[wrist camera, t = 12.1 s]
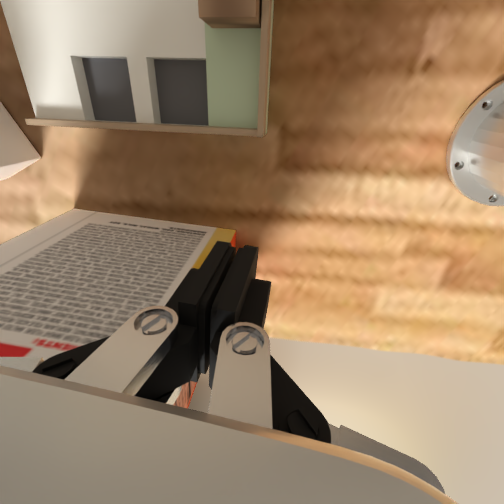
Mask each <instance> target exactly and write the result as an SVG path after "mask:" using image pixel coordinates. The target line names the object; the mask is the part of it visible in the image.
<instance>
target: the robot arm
mask: <svg viewBox="0 0 504 504" xmlns="http://www.w3.org/2000/svg"><path fill="white" fill-rule="evenodd" d="M483 103H485V105H484V107H482V105H483ZM456 163H457V165H456V166H455V164H456ZM446 164H447V171H448V174H449V178H450V180H451V182H452V183H453V185H454V186H455V188H456V189H457V190H458V191H459V192H460V193H462V194H463V195H464V196H466V197H468V198H469V199H471V200H473V201H476V202H478V203H480V204H484V205H489V206H504V80H502V81H501V82H499V83H497V84H495V85H494V86H492V87H491V88H490V89H488V90H487V91H486V92H485V93H483V94H482V95H481V96H480V97H479V98H478V99H477V100H476V101H475V102H474V103H473V104H472V105H471V106H470V107H469V108H468V109H467V110H466V112H465V113H464V114H463V116H462V117H461V118H460V120H459V121H458V123H457V125H456V127H455V129H454V131H453V133H452V135H451V138H450V141H449V144H448V148H447V155H446ZM257 259H258V247H254V246H248V245H245V246H244V248H239V249H238V251H237V253H236V247H232V245H231V243H229V242H223V241H217V242H216V243H215V245H214V247H213V248H212V250H211V251H210V253H209V254H208V256H207V257H206V259H205V260H204V262H203V264H202V265H201V267H200V268H199V269H196V268H191V269H190V270H189V272H188V273H187V275H186V276H185V278H184V279H183V280H182V282H181V283H180V285H179V286H178V288H177V289H176V290H175V292H174V293H173V295H172V296H171V298H170V299H169V301H168V302H167V303H166V305H165V306H150V307H146V308H144V309H141V310H139V311H138V312H136V313H135V314H134V315H133V316H132V317H131V318H129V319H128V320H127V321H126V322H125V323H124V324H123V325H122V326H121V327H120V328H119V329H118V330H117V331H116V332H114V333H113V334H112V335H111V336H108V337H105V338H103V339H100V340H97V341H94V342H91V343H88V344H85V345H82V346H80V347H77V348H74V349H71V350H68V351H65V352H62V353H60V354H57V355H55V356H52V357H50V358H48V359H47V360H45V361H44V360H43V357H0V504H458V503H457V502H455V501H454V500H453V499H451V498H450V497H448V496H447V495H445V492H444V489H443V487H442V485H441V484H440V482H439V480H438V479H437V477H436V476H435V475H434V474H433V473H432V472H431V471H430V470H429V469H428V468H427V467H426V466H425V465H424V464H422V463H420V462H419V461H417V460H416V459H414V458H411V457H409V456H407V455H405V454H403V453H401V452H399V451H397V450H394V449H392V448H390V447H388V446H386V445H383V444H381V443H379V442H377V441H375V440H373V439H370V438H368V437H366V436H364V435H362V434H359V433H358V432H355V431H353V430H351V429H349V428H347V427H345V426H342V425H341V426H340V428H337V427H335V426H333V425H330V424H329V423H328V422H327V420H326V419H325V417H324V416H323V415H322V413H321V412H320V411H319V410H318V408H317V407H316V406H315V405H314V404H313V403H312V402H311V400H310V399H309V398H308V397H307V396H306V395H305V394H304V393H303V391H302V390H301V389H300V388H299V387H298V386H297V385H296V383H295V382H294V381H293V380H292V379H291V378H290V377H289V375H288V374H287V373H286V372H285V371H284V370H283V369H282V367H281V366H280V365H279V364H278V363H277V362H276V361H275V359H274V358H273V357H272V356H271V355H270V341H269V337H268V335H267V333H266V332H265V330H263V328H264V323H265V318H266V313H267V307H268V301H269V295H270V288H271V282H270V281H265V280H259V279H255V276H256V267H257ZM209 364H210V367H209ZM208 367H209V368H210V369H209V386H210V388H211V390H212V393H211V398H210V404H209V410H208V413H204V412H200V411H196V410H191V409H187V408H183V407H179V406H174V405H173V404H174V403H175V401H176V399H177V398H178V396H179V394H180V392H181V389H182V385H184V384H186V383H188V382H190V381H193V382H197V381H198V379H199V376H200V374H201V373H204V374H206V372H207V370H208Z"/></svg>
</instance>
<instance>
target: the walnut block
mask: <svg viewBox="0 0 504 504" xmlns="http://www.w3.org/2000/svg"><path fill="white" fill-rule="evenodd" d="M198 12H199V18H200V19H202V20H203V21H204V22H205V23H206V24H208V25H209V26H210V27H211V28H261V15H262V0H198Z"/></svg>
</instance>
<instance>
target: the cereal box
mask: <svg viewBox="0 0 504 504" xmlns="http://www.w3.org/2000/svg"><path fill="white" fill-rule="evenodd" d="M217 241H223V242H229V243H231V245H232V247H235V242H236V230H231V229H224V228H216V227H209V226H201V225H194V224H186V223H179V222H171V221H164V220H156V219H149V218H141V217H134V216H126V215H119V214H111V213H104V212H96V211H89V210H81V209H72V210H70V211H68V212H66V213H64V214H61V215H59V216H57V217H55V218H53V219H51V220H49V221H47V222H45V223H43V224H41V225H39V226H37V227H35V228H33V229H31V230H29V231H27V232H25V233H23V234H21V235H19V236H16V237H14V238H12V239H10V240H8V241H6V242H4V243H2V244H0V357H43V360H44V361H45V360H47V359H48V358H50V357H52V356H55V355H57V354H60V353H62V352H65V351H68V350H71V349H74V348H77V347H80V346H82V345H85V344H88V343H91V342H94V341H97V340H100V339H103V338H105V337H108V336H111V335H112V334H113V333H114V332H116V331H117V330H118V329H119V328H120V327H121V326H122V325H123V324H124V323H125V322H126V321H127V320H128V319H129V318H131V317H132V316H133V315H134V314H135V313H136V312H138V311H139V310H141V309H144V308H146V307H150V306H165V305H166V303H167V302H168V301H169V299H170V298H171V296H172V295H173V293H174V292H175V290H176V289H177V288H178V286H179V285H180V283H181V282H182V280H183V279H184V278H185V276H186V275H187V273H188V272H189V270H190V269H191V268H196V269H199V268H200V267H201V265H202V264H203V262H204V260H205V259H206V257H207V256H208V254H209V253H210V251H211V250H212V248H213V247H214V245H215V243H216V242H217ZM196 384H197V382H193V381H190V382H188V383H186V384H184V385H182V389H181V392H180V394H179V396H178V398H177V399H176V401H175V403H174V404H173V405H174V406H179V407H183V408H187V409H188V406H189V404H190V401H191V398H192V395H193V392H194V389H195V387H196Z"/></svg>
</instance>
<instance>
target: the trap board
mask: <svg viewBox="0 0 504 504" xmlns="http://www.w3.org/2000/svg"><path fill="white" fill-rule="evenodd" d="M0 2H1V5H2V8H3V12H4V15H5V18H6V21H7V25H8V28H9V31H10V34H11V38H12V41H13V44H14V48H15V51H16V54H17V57H18V61H19V64H20V67H21V70H22V74H23V77H24V80H25V84H26V87H27V90H28V93H29V97H30V100H31V103H32V106H33V110H34V113H35V116H36V118H29V119H25V121H26V124H27V125H40V126H60V127H79V128H99V129H119V130H139V131H159V132H179V133H198V134H218V135H238V136H257V137H264V136H265V135H266V134H267V124H268V105H269V86H270V67H271V47H272V28H273V9H274V0H262V15H261V28H211V27H210V26H209V25H208V24H206V23H205V22H204V21H203V20H202V19H200V18H199V12H198V0H0Z"/></svg>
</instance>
